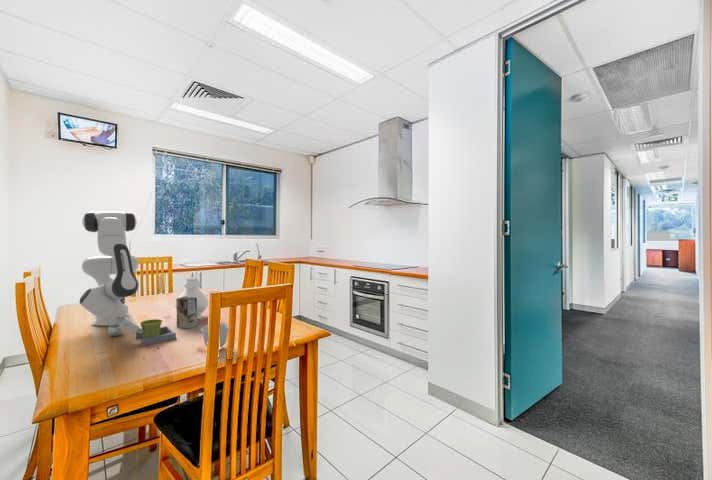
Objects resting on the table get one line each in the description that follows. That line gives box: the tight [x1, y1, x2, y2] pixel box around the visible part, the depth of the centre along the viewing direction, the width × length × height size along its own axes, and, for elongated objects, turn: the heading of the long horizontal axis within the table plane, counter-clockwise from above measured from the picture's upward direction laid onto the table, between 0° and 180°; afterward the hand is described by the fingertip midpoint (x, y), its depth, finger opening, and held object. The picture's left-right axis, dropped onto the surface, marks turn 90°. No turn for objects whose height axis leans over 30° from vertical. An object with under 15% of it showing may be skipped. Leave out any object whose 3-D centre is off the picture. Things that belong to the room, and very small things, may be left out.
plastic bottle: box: [108, 299, 125, 337], centre depth 158 cm, size 6×7×20 cm
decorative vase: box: [175, 276, 209, 320], centre depth 190 cm, size 18×18×25 cm
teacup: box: [200, 323, 230, 348], centre depth 143 cm, size 12×15×10 cm
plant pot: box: [139, 318, 163, 339], centre depth 153 cm, size 9×9×9 cm
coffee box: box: [175, 297, 198, 329], centre depth 174 cm, size 9×6×16 cm
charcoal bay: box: [135, 325, 177, 347], centre depth 155 cm, size 15×14×3 cm
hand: (142, 332), depth 151 cm, fingers closed, pressing on plant pot
